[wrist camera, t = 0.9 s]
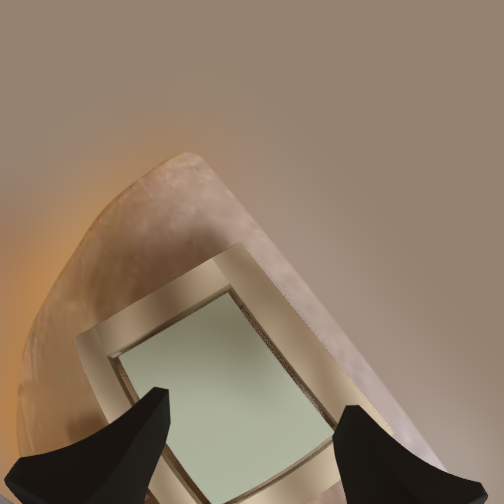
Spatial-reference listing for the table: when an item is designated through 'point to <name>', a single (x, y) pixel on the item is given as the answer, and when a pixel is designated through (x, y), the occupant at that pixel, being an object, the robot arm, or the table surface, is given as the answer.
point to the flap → (226, 400)
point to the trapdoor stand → (276, 331)
